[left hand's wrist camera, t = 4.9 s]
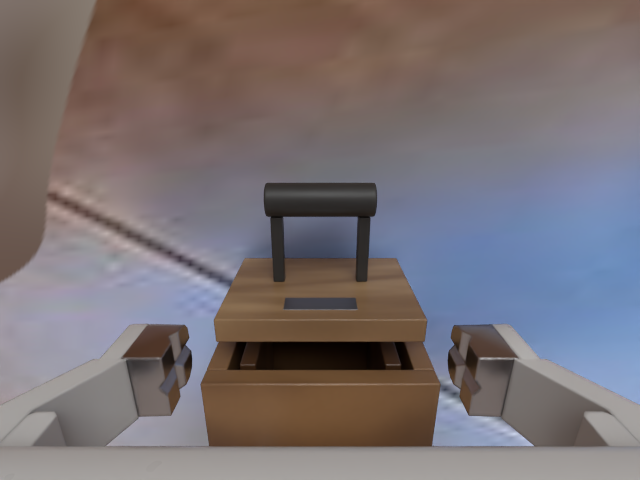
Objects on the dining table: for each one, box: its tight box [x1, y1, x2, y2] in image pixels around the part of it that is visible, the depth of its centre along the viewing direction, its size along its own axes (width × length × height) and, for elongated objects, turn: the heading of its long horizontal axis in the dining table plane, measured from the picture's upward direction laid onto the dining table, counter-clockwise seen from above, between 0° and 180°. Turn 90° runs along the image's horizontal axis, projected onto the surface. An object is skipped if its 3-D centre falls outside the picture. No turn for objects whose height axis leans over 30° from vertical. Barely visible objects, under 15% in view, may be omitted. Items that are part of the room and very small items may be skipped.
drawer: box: [214, 183, 427, 370], centre depth 22 cm, size 24×10×7 cm, turn 0°
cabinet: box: [201, 342, 440, 446], centre depth 24 cm, size 20×11×9 cm, turn 0°
